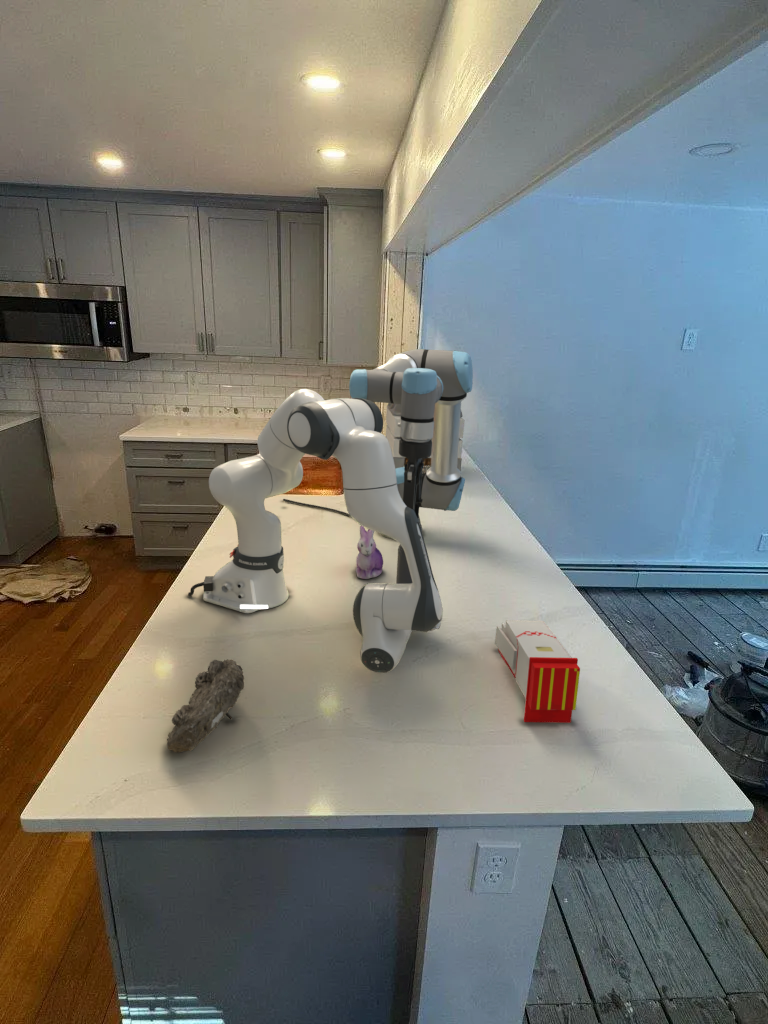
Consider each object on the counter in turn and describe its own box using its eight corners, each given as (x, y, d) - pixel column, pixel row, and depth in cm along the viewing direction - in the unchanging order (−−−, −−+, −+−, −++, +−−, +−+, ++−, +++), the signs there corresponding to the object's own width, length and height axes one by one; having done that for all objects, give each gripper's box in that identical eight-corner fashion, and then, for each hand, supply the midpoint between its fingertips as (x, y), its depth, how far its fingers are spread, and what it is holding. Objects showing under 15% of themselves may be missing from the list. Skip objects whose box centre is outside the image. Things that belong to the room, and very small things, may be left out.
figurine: (361, 582, 163) (363, 534, 158) (347, 568, 171) (348, 522, 166) (390, 577, 167) (393, 529, 162) (375, 563, 176) (377, 518, 170)
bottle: (418, 624, 143) (424, 532, 135) (398, 627, 141) (404, 534, 133) (409, 613, 148) (415, 524, 139) (390, 616, 146) (395, 526, 138)
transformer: (382, 463, 289) (386, 382, 275) (445, 464, 293) (451, 384, 279) (390, 482, 257) (394, 392, 243) (460, 483, 261) (468, 394, 247)
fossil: (192, 660, 117) (244, 628, 112) (224, 691, 120) (276, 661, 115) (142, 746, 98) (202, 712, 93) (182, 779, 101) (242, 748, 96)
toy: (541, 605, 135) (589, 664, 106) (536, 657, 138) (581, 729, 108) (490, 604, 135) (524, 663, 105) (486, 656, 137) (518, 728, 108)
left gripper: (439, 618, 127) (448, 591, 140) (352, 604, 132) (368, 579, 144) (437, 642, 130) (446, 613, 142) (352, 628, 134) (367, 601, 147)
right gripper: (406, 429, 138) (401, 518, 146) (391, 446, 121) (387, 546, 129) (437, 432, 137) (430, 521, 145) (426, 449, 119) (419, 550, 127)
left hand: (406, 596), depth 143 cm, fingers closed on bottle, 5 cm apart
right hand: (409, 533), depth 137 cm, fingers open, 6 cm apart
